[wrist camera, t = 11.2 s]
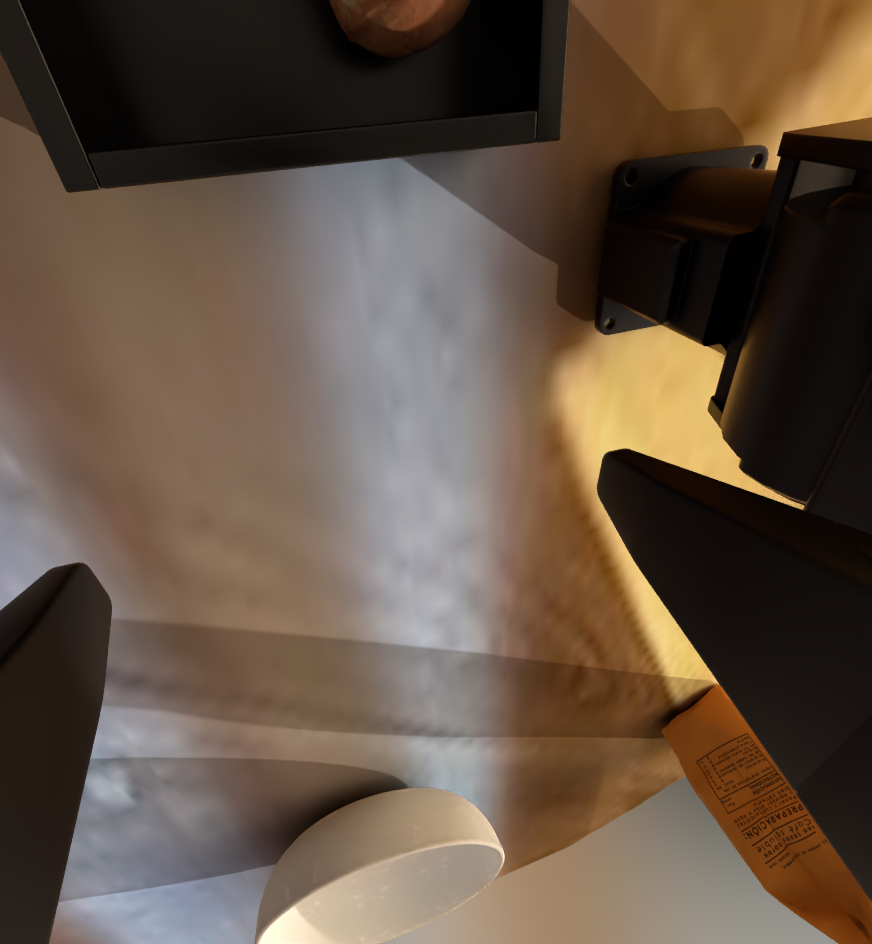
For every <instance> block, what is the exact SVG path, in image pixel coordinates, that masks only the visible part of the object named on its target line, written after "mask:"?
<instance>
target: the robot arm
mask: <svg viewBox="0 0 872 944" xmlns="http://www.w3.org/2000/svg"><path fill="white" fill-rule="evenodd" d="M754 156H755V157H754ZM777 156H780V157H781V158H780V162H779V165H778V169H777V171H775V170H765V167H766V163H767V160H768V149H767V148H766V147H765V146H761V145H751V146H742V147H734V148H725V149H717V150H708V151H700V152H691V153H683V154H675V155H666V156H658V157H649V158H641V159H632V160H626V161H624V162H622V163H621V164H620V165H619V166H618V167H617V169H616V171H615V174H614V177H613V185H612V193H611V201H610V208H609V216H608V224H607V227H606V229H605V234H604V241H603V249H602V257H601V265H600V273H599V281H598V289H597V291H598V293H599V294H598V302H597V310H596V317H595V328H596V330H597V331H599V332H601V333H602V334H604V335H610V334H615V333H621V332H626V331H631V330H636V329H642V328H647V327H652V326H657V325H663V326H665V327H667V328H669V329H671V330H673V331H675V332H677V333H679V334H681V335H683V336H685V337H687V338H689V339H691V340H693V341H695V342H697V343H699V344H701V345H703V346H708V347H710V348H712V349H714V350H716V351H718V352H720V353H722V354H724V355H726V356H725V360H724V364H723V367H722V371H721V374H720V378H719V382H718V385H717V389H716V392H715V395H714V396H712V397H711V399H710V403H709V406H708V412H709V413H710V415H711V416H712V417H713V419H714V420H715V421H716V423H717V424H718V426H719V427H720V428H721V430H722V435H723V439H724V440H725V441H726V442H727V444H728V445H729V446H730V447H731V449H732V450H733V451H734V452H735V453H736V455H737V456H738V457H739V458H741V460H740V463H739V468H740V469H741V470H742V471H743V472H744V473H745V474H746V475H747V476H749V477H750V478H752V479H753V480H755V481H757V482H758V483H760V484H761V485H763V486H764V487H766V488H768V489H770V490H772V491H774V492H775V493H777V494H779V495H781V496H783V497H785V498H787V499H789V500H791V501H794V502H796V503H799V504H802V505H805V506H804V508H803V510H801V509H798V508H795V507H792V506H789V505H787V504H784V503H781V502H778V501H775V500H772V499H769V498H767V497H764V496H761V495H758V494H755V493H752V492H750V491H747V490H744V489H741V488H738V487H735V486H733V485H730V484H727V483H724V482H721V481H718V480H715V479H713V478H710V477H707V476H704V475H701V474H698V473H696V472H693V471H690V470H687V469H684V468H681V467H679V466H676V465H673V464H670V463H667V462H664V461H661V460H659V459H656V458H653V457H650V456H647V455H644V454H642V453H639V452H636V451H633V450H630V449H619V450H614V451H609V452H607V453H606V454H605V455H604V456H603V459H602V464H601V469H600V474H599V479H598V483H597V492H598V496H599V498H600V500H601V502H602V504H603V506H604V508H605V510H606V511H607V513H608V515H609V517H610V519H611V520H612V522H613V524H614V526H615V528H616V530H617V531H618V533H619V535H620V537H621V539H622V541H623V542H624V544H625V546H626V548H627V550H628V551H629V553H630V555H631V556H632V558H633V560H634V561H635V563H636V565H637V566H638V568H639V569H640V571H641V572H642V574H643V575H644V576H645V578H646V579H647V581H648V582H649V584H650V585H651V586H652V588H653V589H654V591H655V592H656V594H657V595H658V596H659V598H660V599H661V601H662V602H663V604H664V605H665V607H666V608H667V609H668V611H669V612H670V614H671V615H672V617H673V618H674V619H675V621H676V622H677V624H678V625H679V627H680V628H681V630H682V631H683V632H684V634H685V635H686V637H687V638H688V640H689V641H690V642H691V644H692V645H693V647H694V648H695V650H696V651H697V652H698V654H699V655H700V657H701V658H702V660H703V661H704V663H705V664H706V665H707V667H708V668H709V670H710V671H711V673H712V674H713V675H714V677H715V678H716V680H717V681H718V683H719V684H720V686H721V687H722V688H723V690H724V691H725V693H726V694H727V696H728V697H729V698H730V700H731V701H732V703H733V704H734V706H735V707H736V708H737V710H738V711H739V713H740V714H741V716H742V717H743V719H744V720H745V721H746V723H747V724H748V726H749V727H750V729H751V730H752V731H753V733H754V734H755V736H756V737H757V739H758V740H759V741H760V743H761V744H762V746H763V747H764V749H765V750H766V752H767V753H768V754H769V756H770V757H771V759H772V760H773V762H774V763H775V764H776V766H777V767H778V769H779V770H780V772H781V773H782V775H783V776H784V777H785V779H786V780H787V782H788V783H789V785H790V786H791V787H792V789H793V790H794V791H796V795H797V797H798V798H799V799H800V801H801V802H802V804H803V805H804V807H805V808H806V810H807V811H808V812H809V814H810V815H811V817H812V818H813V820H814V821H815V822H816V824H817V825H818V827H819V828H820V830H821V831H822V832H823V834H824V835H825V837H826V838H827V840H828V841H829V843H830V844H831V845H832V847H833V848H834V850H835V851H836V853H837V854H838V855H839V857H840V858H841V860H842V861H843V863H844V864H845V865H846V867H847V868H848V870H849V871H850V873H851V874H852V875H853V877H854V878H855V880H856V881H857V883H858V884H859V886H860V887H861V888H862V890H863V891H864V893H865V894H866V896H867V897H868V898H869V900H870V901H871V903H872V118H866V119H860V120H854V121H848V122H842V123H836V124H830V125H824V126H818V127H812V128H806V129H800V130H794V131H788V132H784V133H783V136H782V139H781V143H780V147H779V150H778V154H777ZM753 157H754V161H753V164H752V165H751V161H752V159H753ZM629 170H631V178H630V180H629V181H628V182H627V183H626V178H625V177H626V174H627V173H628V171H629ZM609 318H610V322H609V324H608V325H607V326H605V322H606V321H607V320H608V319H609ZM111 615H112V604H111V600H110V597H109V595H108V594H107V592H106V591H105V589H104V588H103V586H102V585H101V583H100V582H99V581H98V579H97V578H96V576H95V575H94V573H93V572H92V570H91V569H90V568H89V567H88V566H87V565H86V564H84V563H73V564H68V565H64V566H59V567H55V568H52V569H50V570H49V571H47V572H46V573H45V574H44V575H42V576H41V577H40V578H39V579H38V580H37V581H35V582H34V583H33V584H32V585H31V586H29V587H28V588H27V589H26V590H25V591H23V592H22V593H21V594H20V595H19V596H17V597H16V598H15V599H14V600H13V601H11V602H10V603H9V604H8V605H7V606H5V607H4V608H3V609H2V610H1V611H0V944H49V941H50V936H51V932H52V927H53V923H54V918H55V914H56V909H57V905H58V901H59V896H60V892H61V887H62V883H63V878H64V874H65V869H66V865H67V860H68V856H69V851H70V847H71V842H72V838H73V833H74V829H75V824H76V820H77V815H78V811H79V806H80V802H81V797H82V793H83V788H84V784H85V780H86V775H87V771H88V766H89V762H90V757H91V753H92V748H93V744H94V739H95V735H96V730H97V726H98V721H99V717H100V712H101V706H102V701H103V694H104V686H105V676H106V666H107V656H108V646H109V635H110V625H111Z"/></svg>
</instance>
